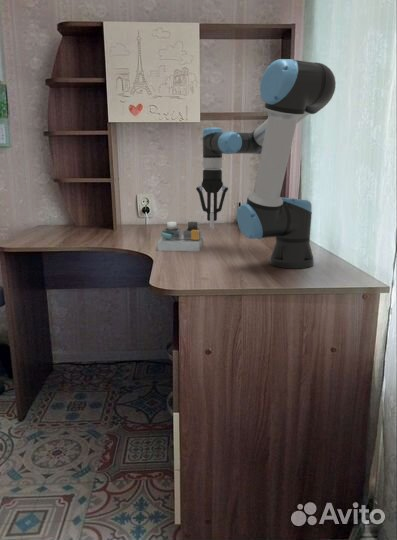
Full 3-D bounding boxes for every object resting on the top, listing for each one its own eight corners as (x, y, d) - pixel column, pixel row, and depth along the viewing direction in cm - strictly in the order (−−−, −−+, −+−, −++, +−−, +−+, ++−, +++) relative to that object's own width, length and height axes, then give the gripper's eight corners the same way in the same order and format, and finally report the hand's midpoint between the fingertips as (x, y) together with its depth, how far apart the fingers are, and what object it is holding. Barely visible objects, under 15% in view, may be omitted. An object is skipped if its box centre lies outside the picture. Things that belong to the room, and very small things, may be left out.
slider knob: (198, 239, 173) (198, 231, 172) (191, 239, 173) (191, 230, 173) (199, 238, 176) (199, 229, 175) (192, 238, 176) (192, 229, 175)
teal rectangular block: (170, 238, 175) (171, 235, 174) (161, 236, 175) (161, 233, 175) (171, 237, 177) (172, 234, 177) (162, 235, 177) (162, 232, 177)
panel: (199, 251, 172) (199, 234, 170) (157, 250, 174) (157, 233, 172) (203, 244, 186) (202, 228, 184) (164, 243, 188) (164, 227, 186)
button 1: (175, 229, 180) (175, 222, 180) (166, 229, 181) (166, 222, 180) (177, 228, 184) (177, 221, 183) (168, 228, 185) (168, 221, 184)
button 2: (196, 230, 179) (196, 223, 179) (187, 230, 180) (187, 222, 179) (197, 228, 183) (197, 221, 182) (188, 228, 184) (188, 221, 183)
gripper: (229, 168, 170) (228, 227, 176) (197, 168, 171) (197, 226, 177) (228, 169, 163) (227, 230, 169) (194, 169, 164) (194, 230, 170)
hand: (211, 228), depth 173 cm, fingers closed
